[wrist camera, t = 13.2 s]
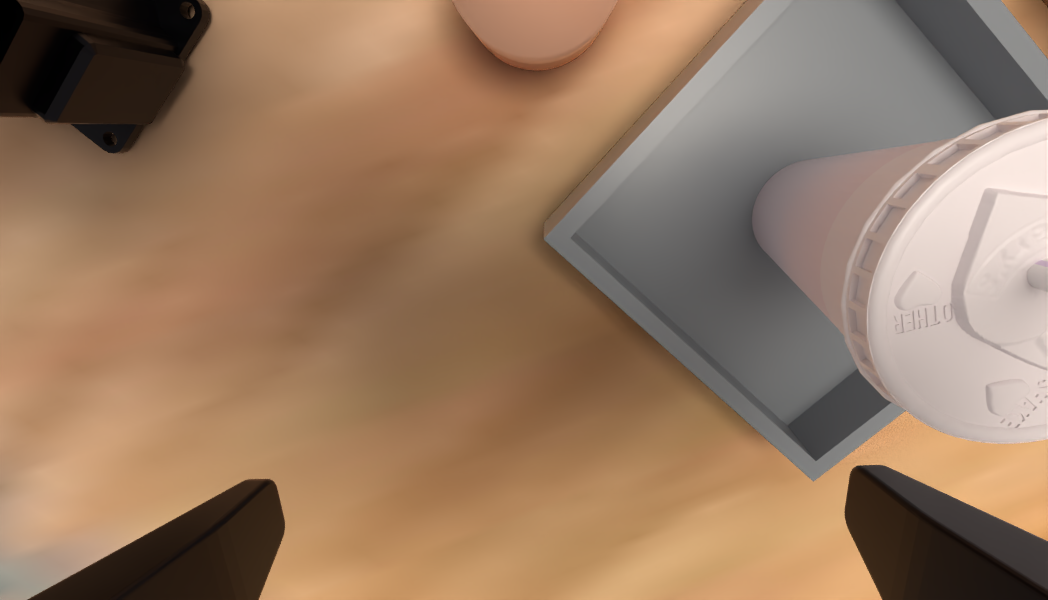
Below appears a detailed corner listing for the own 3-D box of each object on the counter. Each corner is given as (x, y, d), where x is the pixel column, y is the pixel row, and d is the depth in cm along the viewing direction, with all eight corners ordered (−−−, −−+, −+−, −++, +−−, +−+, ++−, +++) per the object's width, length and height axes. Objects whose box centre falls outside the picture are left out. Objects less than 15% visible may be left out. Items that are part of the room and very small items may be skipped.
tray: (544, 222, 20) (543, 239, 17) (828, -90, 17) (891, -138, 14) (777, 433, 22) (813, 481, 19) (1068, 196, 19) (1167, 209, 16)
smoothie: (842, 75, 17) (1791, -96, 4) (935, 227, 19) (1875, 469, 5) (677, 199, 19) (985, 371, 6) (774, 333, 20) (1208, 727, 7)
